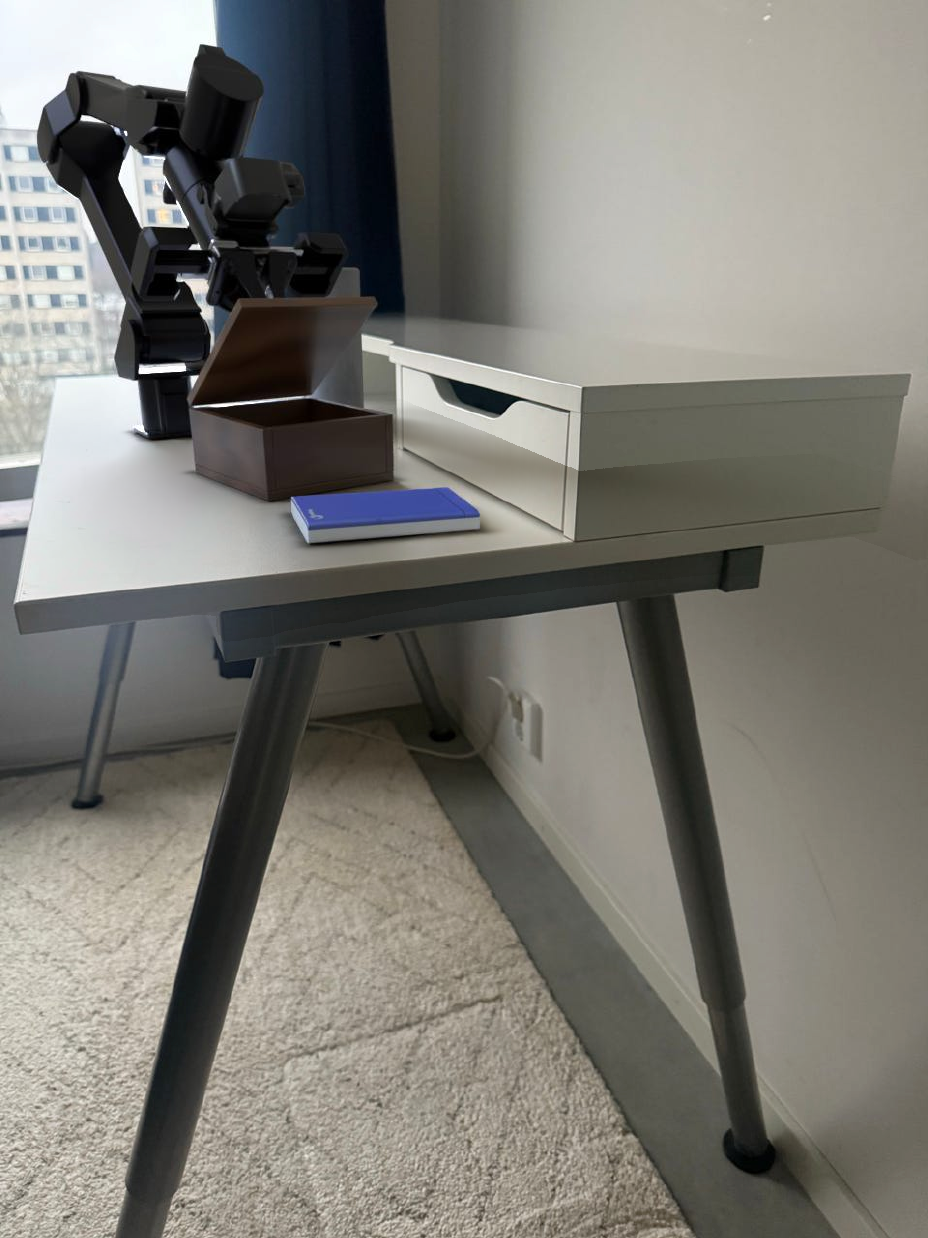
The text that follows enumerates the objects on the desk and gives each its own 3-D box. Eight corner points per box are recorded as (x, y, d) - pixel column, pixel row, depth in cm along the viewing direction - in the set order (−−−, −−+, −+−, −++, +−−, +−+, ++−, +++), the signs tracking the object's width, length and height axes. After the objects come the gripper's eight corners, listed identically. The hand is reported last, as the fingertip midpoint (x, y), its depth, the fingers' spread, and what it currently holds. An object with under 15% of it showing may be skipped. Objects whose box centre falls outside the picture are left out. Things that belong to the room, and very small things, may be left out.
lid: (378, 304, 73) (374, 296, 73) (241, 307, 65) (238, 297, 65) (312, 395, 84) (309, 388, 84) (189, 406, 76) (186, 398, 77)
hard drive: (307, 523, 58) (480, 510, 62) (290, 494, 65) (446, 484, 69) (308, 545, 59) (479, 531, 62) (291, 514, 66) (446, 503, 69)
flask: (300, 408, 115) (291, 245, 107) (344, 406, 117) (337, 246, 109) (320, 427, 102) (310, 242, 94) (368, 424, 103) (362, 243, 96)
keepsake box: (394, 479, 77) (393, 414, 75) (268, 501, 69) (262, 429, 67) (314, 455, 87) (311, 396, 84) (195, 472, 79) (188, 407, 77)
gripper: (124, 109, 65) (202, 267, 62) (332, 135, 77) (409, 269, 73) (102, 226, 74) (170, 370, 70) (293, 233, 85) (360, 358, 82)
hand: (283, 339), depth 74 cm, fingers closed
